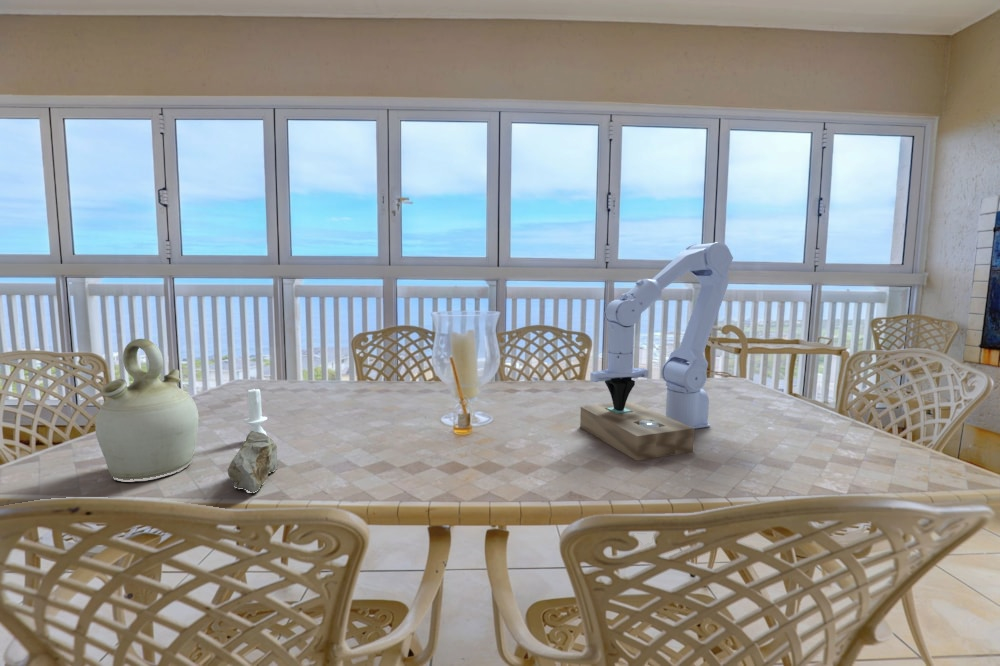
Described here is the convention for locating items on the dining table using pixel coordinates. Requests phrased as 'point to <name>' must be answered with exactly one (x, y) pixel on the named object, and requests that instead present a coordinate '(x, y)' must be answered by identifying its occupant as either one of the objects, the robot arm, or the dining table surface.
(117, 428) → the jug
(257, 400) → the candle
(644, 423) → the peg round
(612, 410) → the peg square
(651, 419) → the socket block
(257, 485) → the rock
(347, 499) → the dining table surface
